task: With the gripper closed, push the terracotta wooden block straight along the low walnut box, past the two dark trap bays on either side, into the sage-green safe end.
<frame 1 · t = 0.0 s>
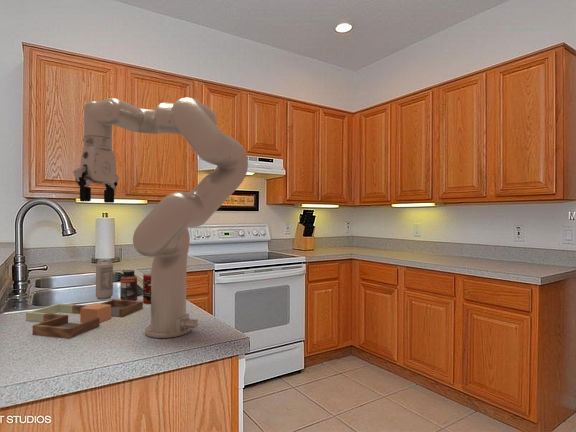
hand: (97, 202, 109), 37 cm above the table, tool pointing down, fingers open, 9 cm apart
canned food: (154, 302, 138), on the table
block: (95, 320, 114), on the table
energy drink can: (104, 298, 143), on the table
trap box: (78, 318, 115), on the table
supplement bottle: (128, 300, 141), on the table
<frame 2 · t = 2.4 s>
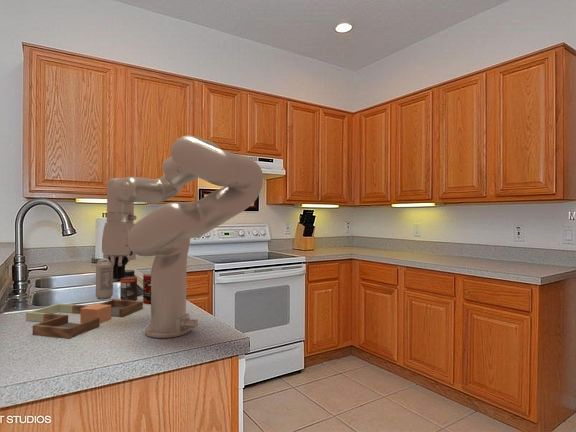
hand: (118, 278, 112), 13 cm above the table, tool pointing down, fingers closed
nothing on the table moved.
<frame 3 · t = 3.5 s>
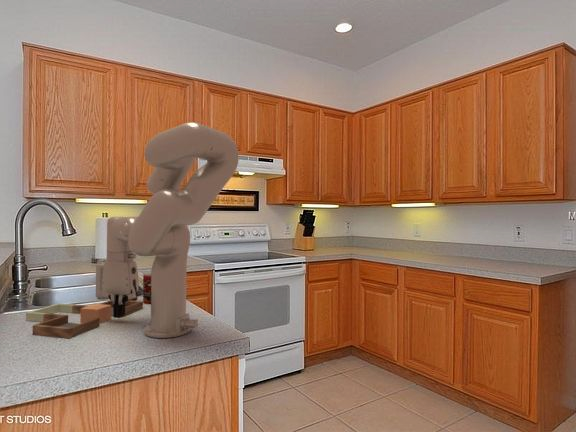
hand: (119, 316, 112), 2 cm above the table, tool pointing down, fingers closed
nothing on the table moved.
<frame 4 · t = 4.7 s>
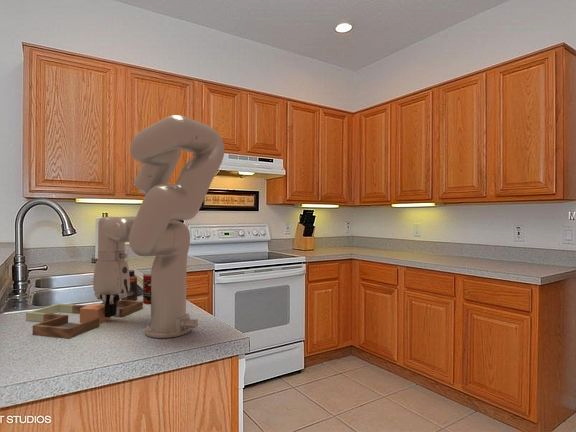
hand: (110, 315, 113), 2 cm above the table, tool pointing down, fingers closed
block: (95, 321, 113), on the table, touching gripper
everything else where it was.
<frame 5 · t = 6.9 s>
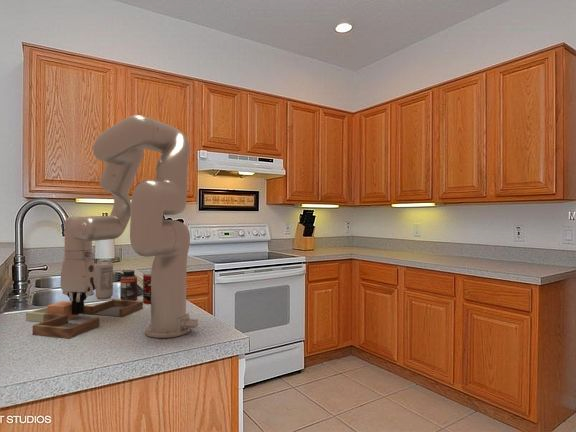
hand: (77, 313, 115), 2 cm above the table, tool pointing down, fingers closed
block: (63, 317, 116), on the table, touching gripper
everything else where it was.
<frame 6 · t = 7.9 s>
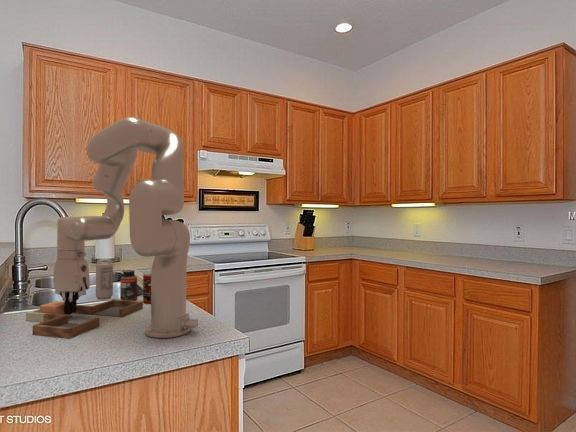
hand: (70, 313, 116), 2 cm above the table, tool pointing down, fingers closed
block: (55, 318, 117), on the table, touching gripper
everything else where it was.
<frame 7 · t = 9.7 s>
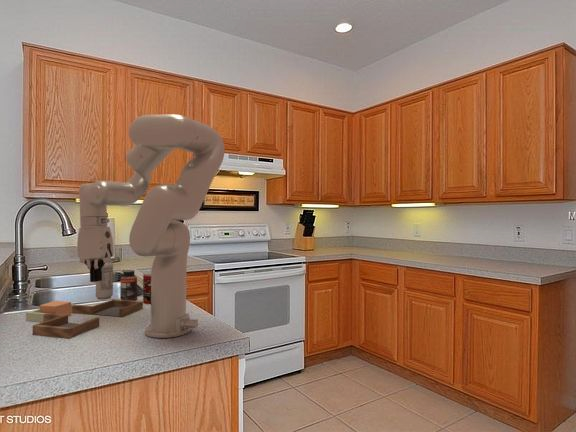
hand: (96, 281, 115), 12 cm above the table, tool pointing down, fingers closed
block: (55, 317, 117), on the table
everything else where it was.
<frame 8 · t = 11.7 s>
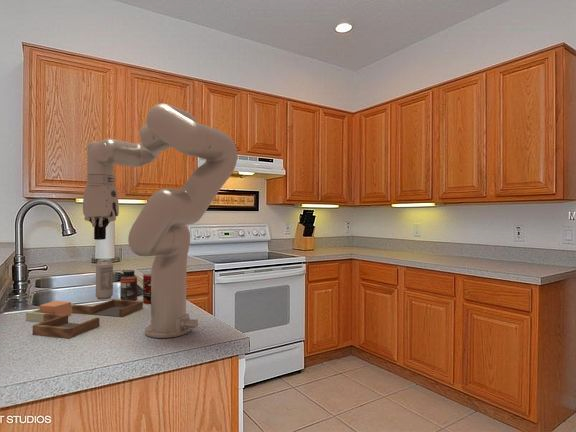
hand: (99, 239, 116), 25 cm above the table, tool pointing down, fingers closed
nothing on the table moved.
at the end: block inside the target area (0.9 cm from its centre), on the table; block tilted 0°; block moved 14.7 cm from its start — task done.
